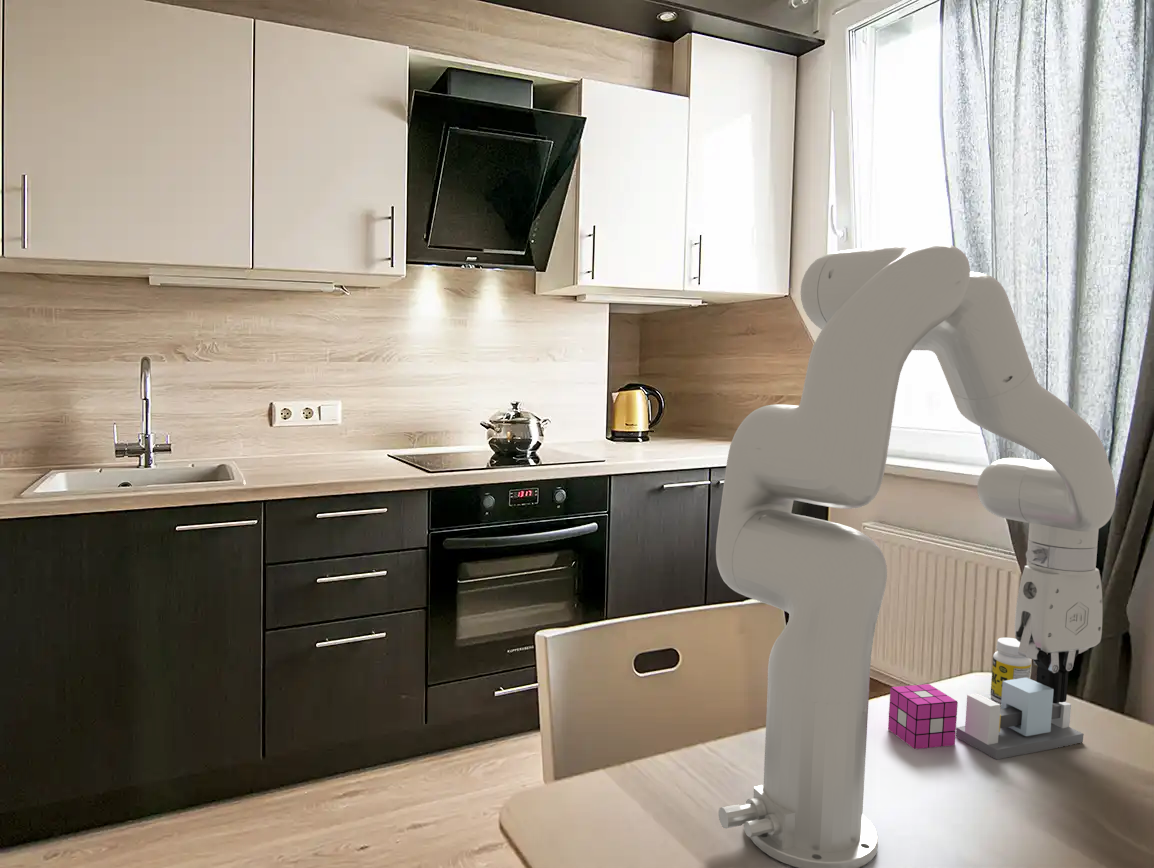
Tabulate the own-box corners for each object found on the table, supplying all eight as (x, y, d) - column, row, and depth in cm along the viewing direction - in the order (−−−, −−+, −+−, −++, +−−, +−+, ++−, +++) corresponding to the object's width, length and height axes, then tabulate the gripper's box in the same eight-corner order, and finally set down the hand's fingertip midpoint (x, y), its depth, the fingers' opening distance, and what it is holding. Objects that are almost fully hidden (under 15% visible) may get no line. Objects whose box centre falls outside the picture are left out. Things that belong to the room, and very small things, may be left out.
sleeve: (1025, 736, 105) (1029, 693, 105) (999, 722, 109) (1002, 681, 109) (1050, 731, 107) (1053, 689, 106) (1023, 718, 110) (1026, 677, 110)
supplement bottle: (983, 693, 122) (987, 636, 122) (1014, 693, 123) (1018, 635, 122) (1003, 707, 118) (1007, 648, 117) (1035, 706, 118) (1040, 647, 117)
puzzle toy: (955, 745, 106) (958, 701, 105) (914, 750, 105) (917, 705, 104) (926, 726, 112) (929, 683, 111) (887, 729, 110) (889, 686, 110)
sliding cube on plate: (996, 759, 102) (999, 710, 102) (955, 736, 108) (958, 690, 108) (1082, 742, 107) (1086, 696, 107) (1039, 721, 113) (1042, 677, 113)
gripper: (1041, 568, 101) (1030, 718, 103) (1132, 559, 106) (1120, 703, 108) (990, 553, 108) (981, 694, 110) (1078, 546, 113) (1068, 681, 115)
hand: (1050, 698), depth 109 cm, fingers closed
